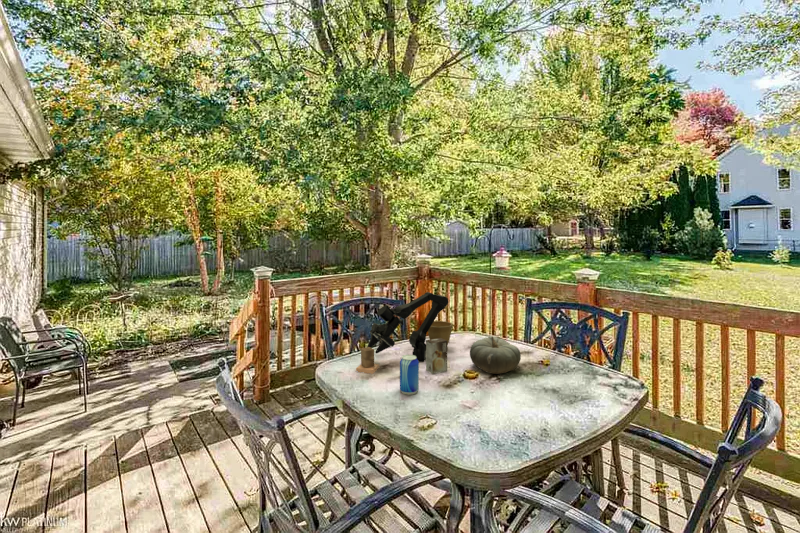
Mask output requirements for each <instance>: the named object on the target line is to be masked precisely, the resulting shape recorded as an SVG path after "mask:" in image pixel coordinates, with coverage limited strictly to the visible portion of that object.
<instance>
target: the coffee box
mask: <svg viewBox="0 0 800 533" xmlns="http://www.w3.org/2000/svg"><path fill="white" fill-rule="evenodd" d="M425 344H426V360H425V371H426V372H428V373H430V374H431V375H434V374H439V373H445V372H448V346H447V340H444V339H442V338H436V339H426V340H425Z"/></svg>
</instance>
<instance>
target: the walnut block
mask: <svg viewBox="0 0 800 533" xmlns="http://www.w3.org/2000/svg"><path fill="white" fill-rule="evenodd" d="M374 364H375V349H374V348H373V347H368V346H367V347H362V348H360V365H361V366H363V367H364V368H370V367H374Z"/></svg>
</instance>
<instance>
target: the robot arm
mask: <svg viewBox="0 0 800 533" xmlns="http://www.w3.org/2000/svg"><path fill="white" fill-rule="evenodd" d="M430 301H431V307H430V310H429V311H428V313H427V314H426V316H425V318H424V320H423V321H422V323H421V324H420V326H419V328H418V329H417V330H416V331H415V330H413V331H411V334H410V335H409V339H408V342H409V344H410V345H411V347H412V348H413V349H412V350H413V351H412V354H411V355H415V356H416V357H417V360H418V362H421V363H425V362H426V340H427V334H428V330H429V329H430V327H431V325H432V323H433V322H434V321H436V319H437V317H438V315H439V313H440V312H441V311H443V310H444V309H445V308H446V307H447V306H448V304H449V298H448V297H447V296H445V295H442V294H434V293H432V292H429V291H426V292H424V293H423V294H422V295H420V296H419V297H416V298H415V299H413V300H412V301H410V302H409V303H408V302H407V303H404V304H401V305H398V306H396V307H395V308H393V309H392V308H390V306H389V305H388V304H385V305H383V306H382V307H381V308H379V309H378V310H377V315H378V316H379V317H380V318H381V319H382V320H383V321H384V322H386V323H383V324H381V323H379V324H378V323H375V322H373V323H372V325H371V328H370V331H369V333H370V334H369V335H370V340H369V342H368V345H367V347H371V348H373V346H375V345H376V344H377V343H379V342H380V343H379V345H378V346H377V348H376V349H375V350H374V354H379V353H380V352H383V351H384V350H386V349H390V348H393V347H394V346H395V345H396V341H395V340H393V339H392V338H391V337H392V336H391V335H394V334H395V333H396V332H395V331H396V330H397V328H398V326H400V325H401V326H404V320H403V319H405V320H406V319H407V318H408V317H410V315H412V313H413V312H414V311H415V310H416V309H418V308H420V307H422V306H423V305H425V304H427V303H428V302H430Z"/></svg>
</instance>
